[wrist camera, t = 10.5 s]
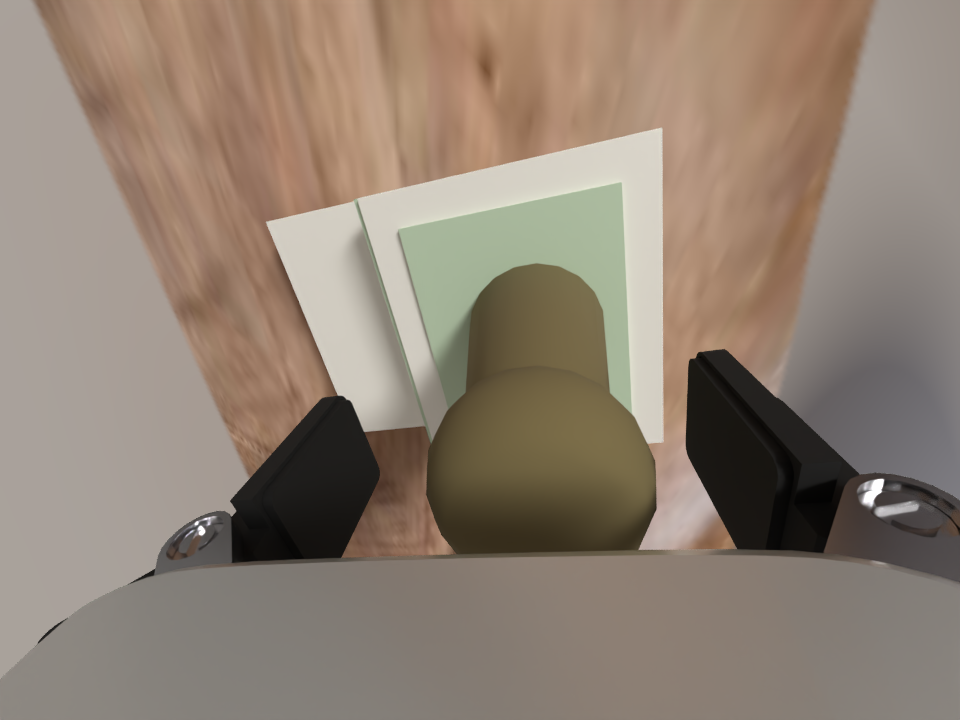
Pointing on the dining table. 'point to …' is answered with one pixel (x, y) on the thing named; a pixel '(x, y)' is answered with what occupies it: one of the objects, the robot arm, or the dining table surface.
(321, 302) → the platform
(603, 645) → the robot arm
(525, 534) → the cork
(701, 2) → the dining table surface
